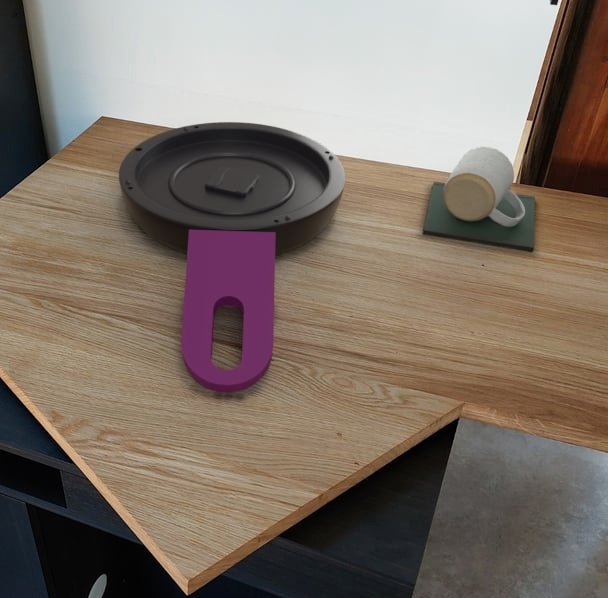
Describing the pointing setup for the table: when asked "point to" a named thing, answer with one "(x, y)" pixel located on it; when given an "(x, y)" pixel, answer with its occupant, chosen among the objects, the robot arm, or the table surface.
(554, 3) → the robot arm
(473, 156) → the ceramic mug
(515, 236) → the mat
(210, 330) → the mounting bracket
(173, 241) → the round tray
